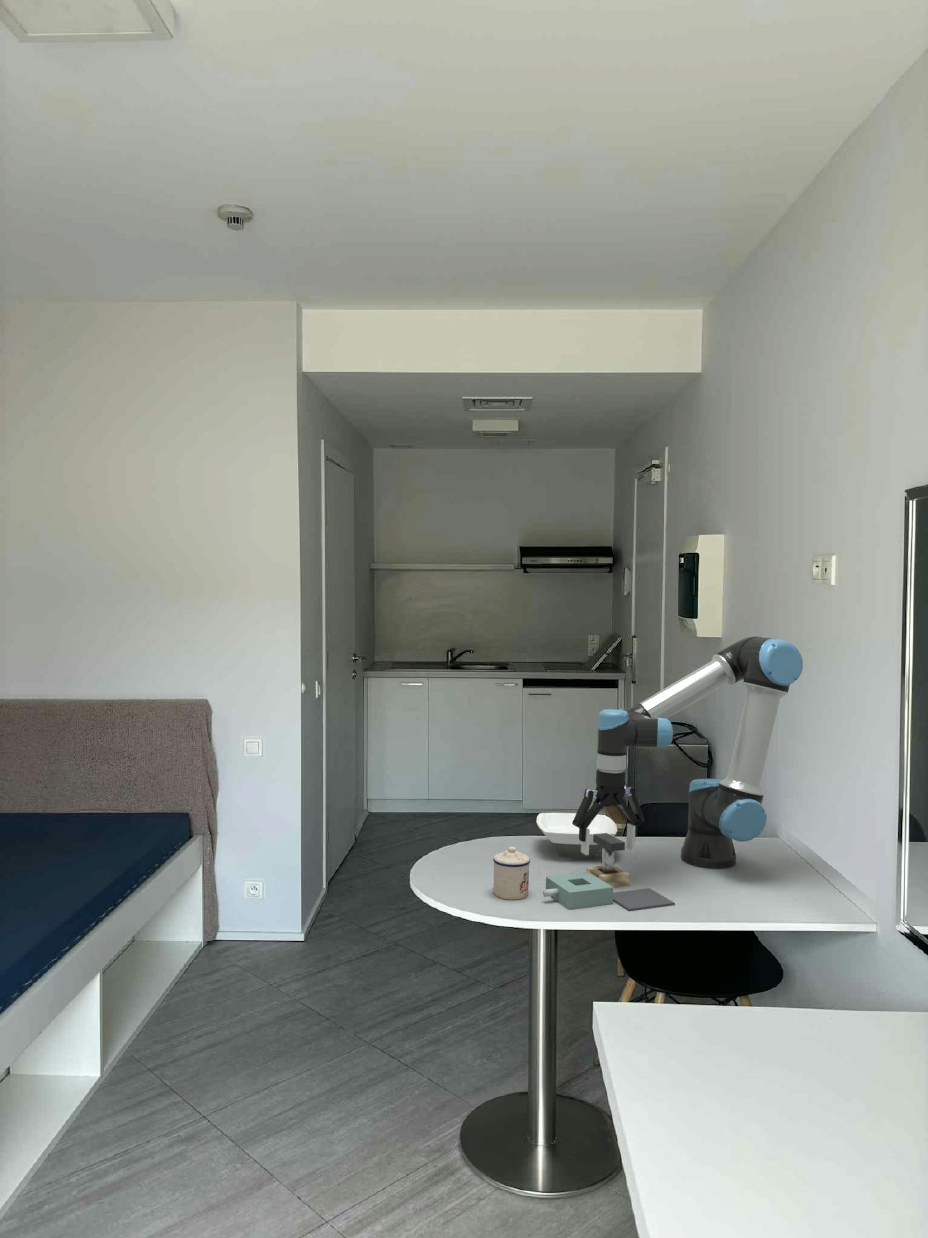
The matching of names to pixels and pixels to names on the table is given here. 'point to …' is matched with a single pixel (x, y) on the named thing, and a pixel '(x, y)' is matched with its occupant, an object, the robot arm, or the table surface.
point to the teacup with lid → (511, 874)
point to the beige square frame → (611, 876)
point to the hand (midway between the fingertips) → (607, 851)
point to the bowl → (573, 832)
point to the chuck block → (578, 890)
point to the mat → (640, 899)
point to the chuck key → (608, 850)
